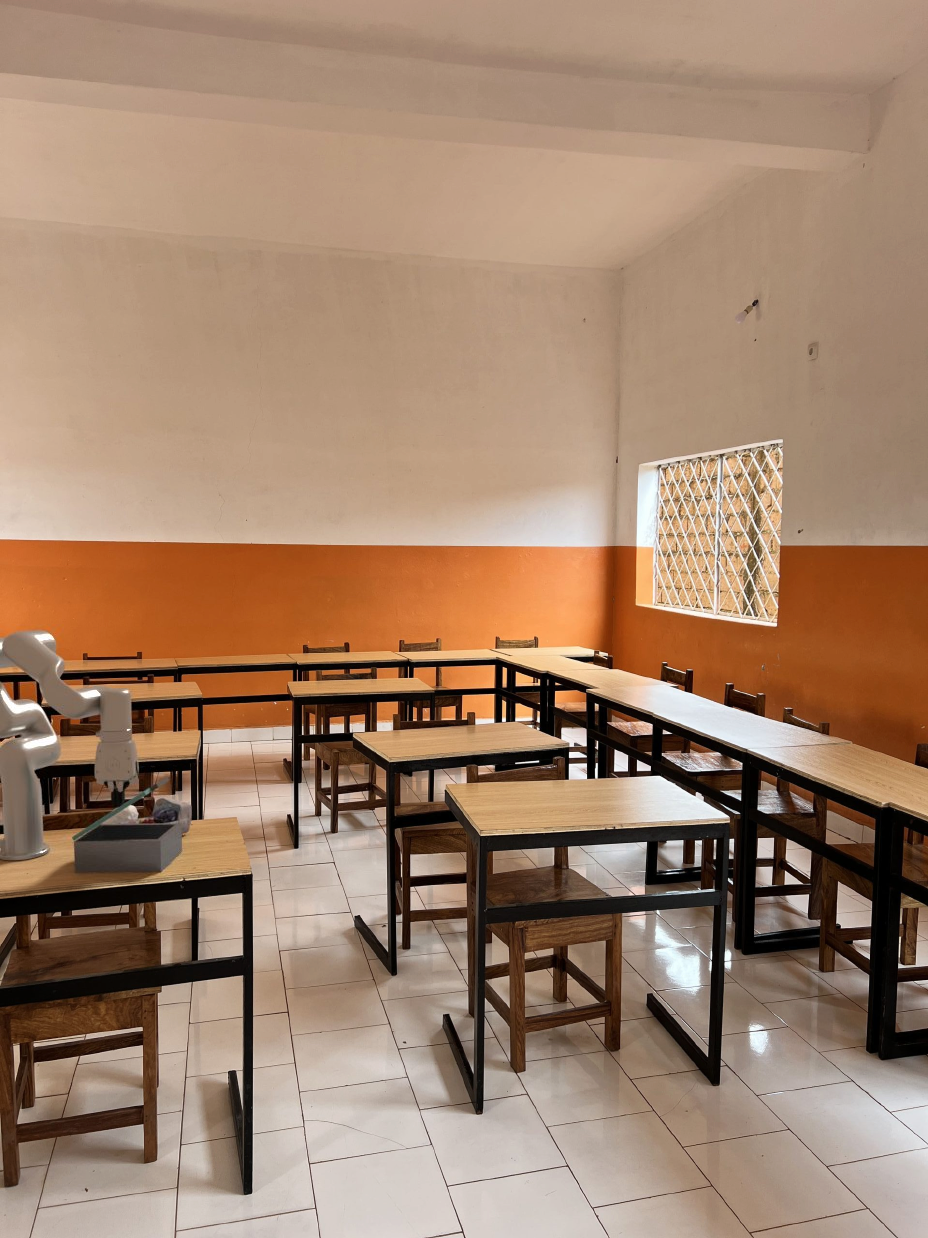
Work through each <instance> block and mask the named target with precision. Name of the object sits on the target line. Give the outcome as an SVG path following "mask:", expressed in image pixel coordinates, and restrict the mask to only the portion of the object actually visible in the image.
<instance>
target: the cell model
mask: <svg viewBox="0 0 928 1238" xmlns="http://www.w3.org/2000/svg"><path fill="white" fill-rule="evenodd" d="M192 813H193V812H192V804H191V803H189V802H185V801H181V800H177V799H174V798H173V799H172V798H169V797H167V798H166V797H160V798H158V799H157V800H156V801H155V802H154V805H153V810H152V814H151V815H150V816H147V817H142V818H141V817H140V818H139V817H138V818H137V819H134V820H130V821H125V822H120V823H119V824H154V823H181V831H182V835H183V834H186V833H188V832H189V831H190V828H191V823H192Z"/></svg>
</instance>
